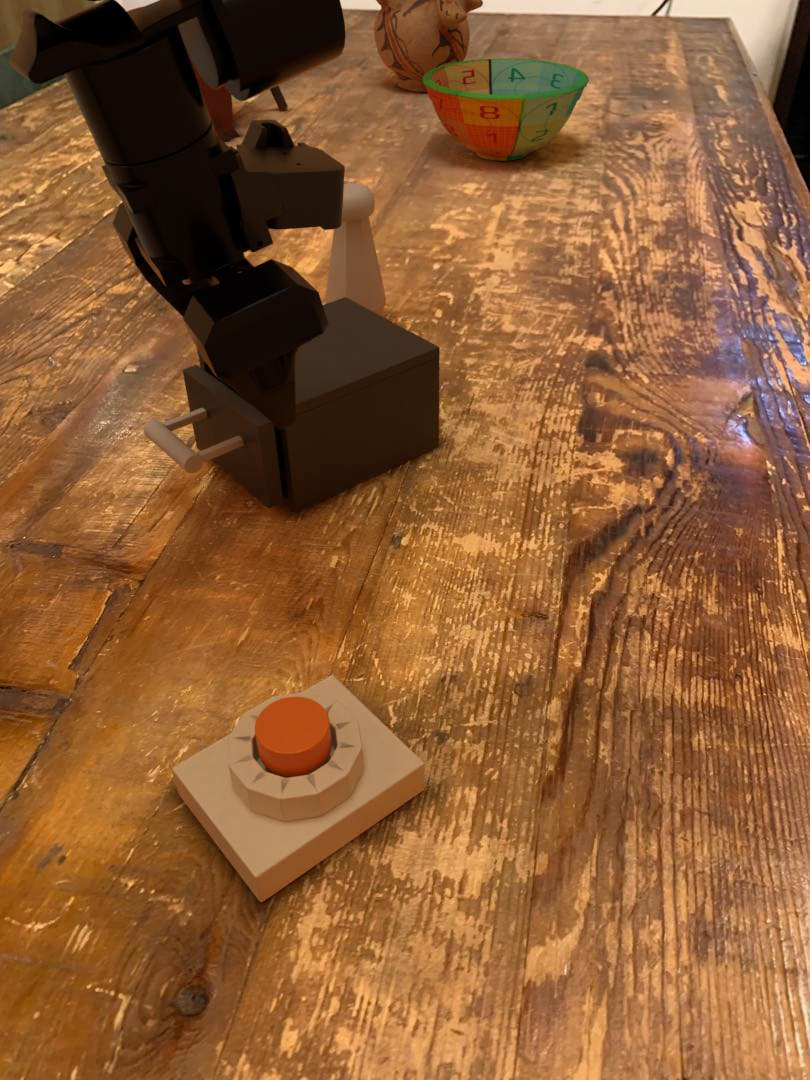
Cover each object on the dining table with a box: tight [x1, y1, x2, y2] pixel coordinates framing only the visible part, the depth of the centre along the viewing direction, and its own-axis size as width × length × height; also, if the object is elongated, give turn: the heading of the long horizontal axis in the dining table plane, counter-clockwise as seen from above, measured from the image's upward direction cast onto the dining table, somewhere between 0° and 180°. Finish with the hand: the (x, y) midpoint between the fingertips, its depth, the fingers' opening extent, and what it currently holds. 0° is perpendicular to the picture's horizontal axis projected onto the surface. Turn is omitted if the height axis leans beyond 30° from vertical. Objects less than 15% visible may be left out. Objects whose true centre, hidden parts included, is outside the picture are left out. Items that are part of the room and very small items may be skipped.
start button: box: [255, 697, 332, 776], centre depth 46 cm, size 4×4×2 cm
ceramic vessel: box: [373, 0, 484, 93], centre depth 156 cm, size 18×19×25 cm
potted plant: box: [126, 6, 288, 142], centre depth 139 cm, size 18×22×25 cm
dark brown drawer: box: [143, 364, 287, 509], centre depth 70 cm, size 17×10×7 cm, turn 129°
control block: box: [171, 674, 425, 903], centre depth 48 cm, size 10×8×4 cm
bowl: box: [422, 57, 590, 162], centre depth 130 cm, size 22×22×10 cm
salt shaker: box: [324, 183, 387, 316], centre depth 88 cm, size 6×6×13 cm
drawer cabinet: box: [196, 297, 441, 514], centre depth 72 cm, size 14×12×9 cm
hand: (259, 388), depth 58 cm, fingers open, 9 cm apart
